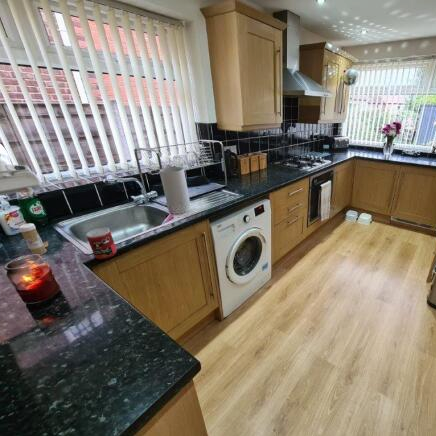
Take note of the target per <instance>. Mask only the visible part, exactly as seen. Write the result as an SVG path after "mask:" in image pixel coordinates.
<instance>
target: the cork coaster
mask: <svg viewBox="0 0 436 436" xmlns="http://www.w3.org/2000/svg"><path fill="white" fill-rule="evenodd" d="M42 242H43V244H44V247H45V248H49V241H48V240H46V241H42Z"/></svg>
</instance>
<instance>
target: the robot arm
mask: <svg viewBox="0 0 436 436" xmlns="http://www.w3.org/2000/svg"><path fill="white" fill-rule="evenodd" d="M42 188H43V184H42V181H41V179H40V178H39V177H38V175H37V174H36V173H35V172H34V171H32V170H31V168H30V167H29V166H28V165H20V164H19V165H18V164H13V163H12V158H11V156H10V155H9V153H8V151H7V149H6V148H5V147H4V146H3V145H2V144H1V143H0V196H3V195H4V196H5V195H10V194H15V193H21V192H26V191H27V192H28V193H26V197H27V199H34V197H33V194H34V192H35V191H34V190H39V189H42ZM0 205H2V201H1V200H0Z"/></svg>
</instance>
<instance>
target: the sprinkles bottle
mask: <svg viewBox="0 0 436 436" xmlns="http://www.w3.org/2000/svg"><path fill="white" fill-rule="evenodd" d="M18 230H19V232H20V233H21V234H22V237H23V238H24V240H25V243H26V245H27V247H28V249H29V250H30V252H31V254H32V255H33V254H40V255H39V256H42V255H45V254H46V253H47V251H48V250H47V249H46V247H44V244H43V242H44V241H42V238H41V236H40V234H39V232H38V231H37V228H36V225H35V224H34V223H31V222H29V223H24V224H21V225H19V226H18Z"/></svg>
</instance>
